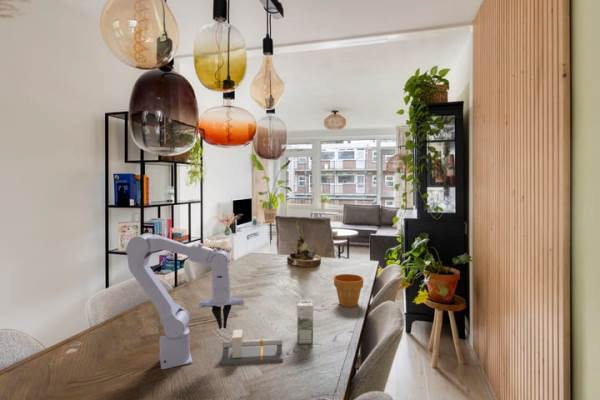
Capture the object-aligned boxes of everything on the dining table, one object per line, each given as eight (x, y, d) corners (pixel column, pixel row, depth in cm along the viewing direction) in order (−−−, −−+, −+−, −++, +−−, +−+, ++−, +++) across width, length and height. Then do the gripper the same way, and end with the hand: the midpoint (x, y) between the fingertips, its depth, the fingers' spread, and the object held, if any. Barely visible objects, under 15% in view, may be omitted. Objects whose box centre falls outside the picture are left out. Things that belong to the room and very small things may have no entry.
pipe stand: (221, 365, 106) (220, 348, 106) (224, 351, 115) (224, 335, 115) (283, 361, 108) (282, 344, 108) (281, 348, 117) (281, 332, 117)
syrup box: (312, 337, 126) (312, 299, 126) (313, 344, 120) (313, 305, 120) (297, 337, 126) (297, 299, 125) (297, 344, 120) (297, 305, 119)
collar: (232, 357, 108) (232, 337, 108) (234, 348, 114) (234, 329, 114) (241, 357, 108) (241, 337, 108) (243, 348, 114) (242, 329, 114)
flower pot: (363, 310, 153) (363, 282, 153) (332, 308, 156) (332, 281, 156) (363, 300, 167) (363, 274, 167) (335, 298, 170) (335, 273, 170)
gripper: (196, 292, 105) (198, 334, 106) (242, 289, 107) (243, 330, 107) (200, 285, 112) (202, 325, 113) (243, 283, 114) (245, 322, 114)
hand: (222, 327), depth 110 cm, fingers closed
